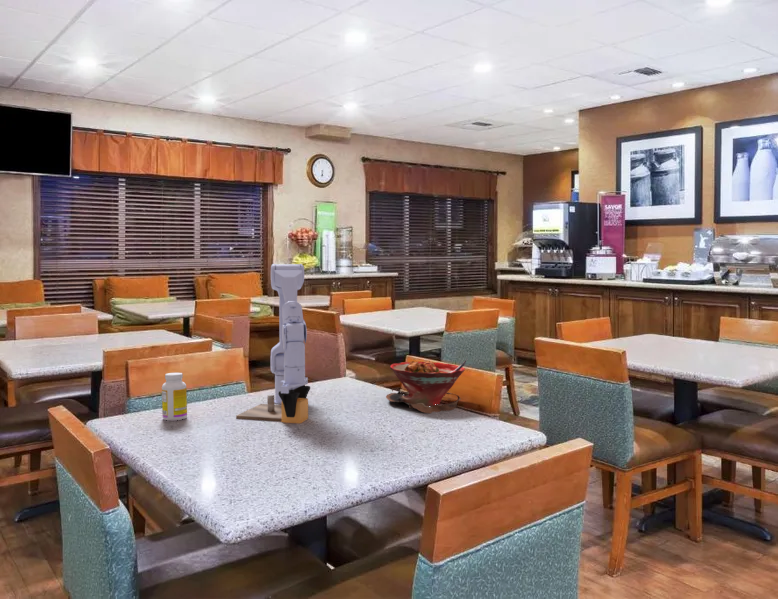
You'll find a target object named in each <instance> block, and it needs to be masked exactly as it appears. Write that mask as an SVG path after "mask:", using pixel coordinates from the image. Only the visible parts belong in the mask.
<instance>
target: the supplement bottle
mask: <svg viewBox="0 0 778 599" xmlns="http://www.w3.org/2000/svg"><path fill="white" fill-rule="evenodd" d="M183 377H184V376H183V372H169V373H168V372H167V373H165V375H164V379H165V382H164V383H163V384H162V386H161V403H162V404H161V406H162V407H161V408H162V410H161V411H162V419H163V420H164V421H166V420H167V421H166V422H177V420H178V421H182V419H183V420H186V419H187V417H188V399H187V398H188V397H187V395H188V394H187V393H188V391H187V384H186V382H184V381H183Z"/></svg>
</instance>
